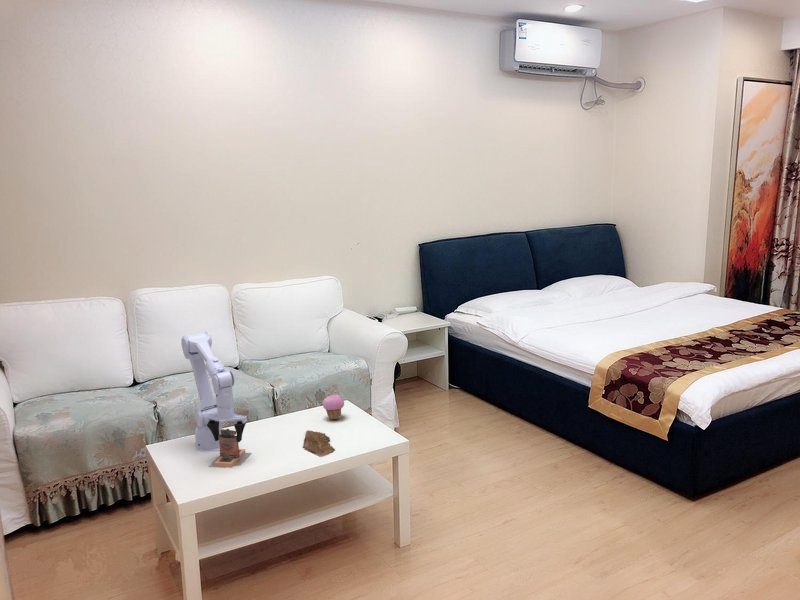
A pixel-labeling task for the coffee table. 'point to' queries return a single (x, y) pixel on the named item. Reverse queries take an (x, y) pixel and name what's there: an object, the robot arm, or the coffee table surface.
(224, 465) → the holder
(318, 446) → the wooden fragment
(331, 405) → the cupcake
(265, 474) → the coffee table surface
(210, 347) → the robot arm
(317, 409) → the coffee table surface
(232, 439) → the lighter
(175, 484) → the coffee table surface
